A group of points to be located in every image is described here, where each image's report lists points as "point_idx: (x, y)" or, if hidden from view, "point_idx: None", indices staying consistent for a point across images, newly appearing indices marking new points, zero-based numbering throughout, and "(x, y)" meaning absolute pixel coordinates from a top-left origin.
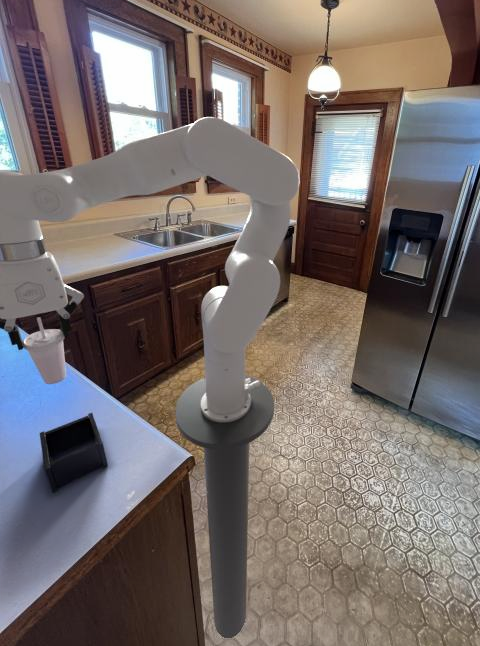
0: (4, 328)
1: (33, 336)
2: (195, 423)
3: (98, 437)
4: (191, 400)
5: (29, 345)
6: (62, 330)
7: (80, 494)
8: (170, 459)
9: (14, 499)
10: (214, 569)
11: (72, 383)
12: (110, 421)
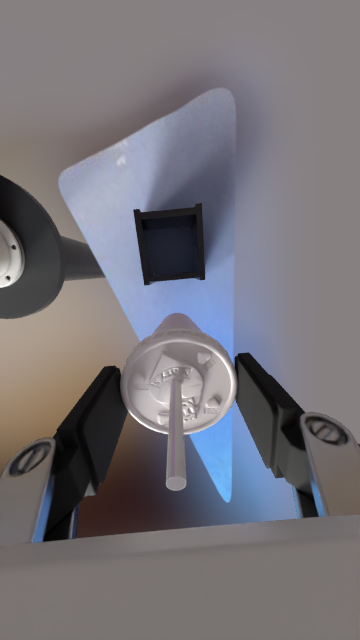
0: (352, 435)
1: (207, 408)
2: (35, 237)
3: (138, 226)
4: (36, 282)
5: (219, 352)
6: (121, 406)
7: (171, 197)
8: (71, 187)
9: (228, 232)
10: None
11: None
12: (135, 294)
